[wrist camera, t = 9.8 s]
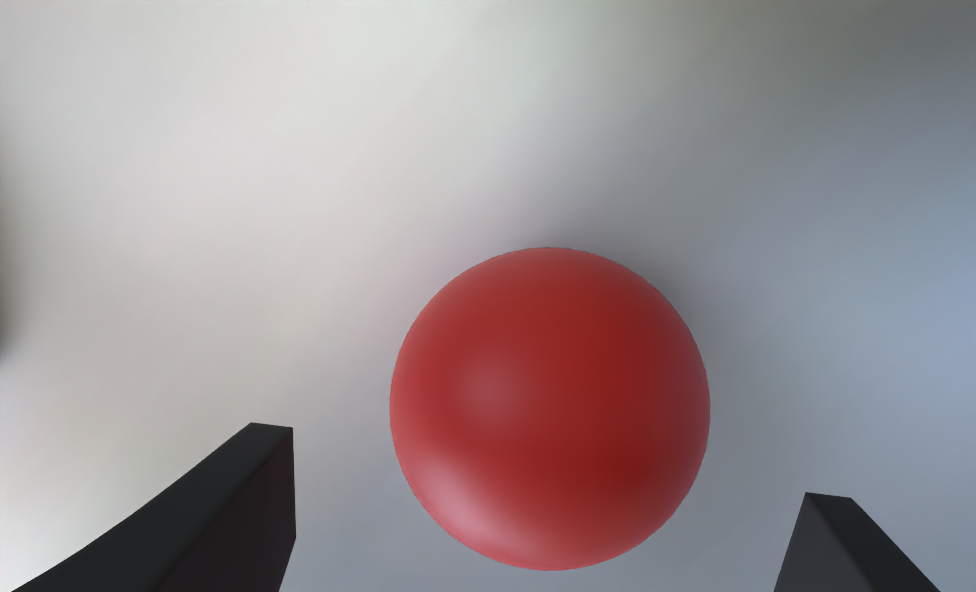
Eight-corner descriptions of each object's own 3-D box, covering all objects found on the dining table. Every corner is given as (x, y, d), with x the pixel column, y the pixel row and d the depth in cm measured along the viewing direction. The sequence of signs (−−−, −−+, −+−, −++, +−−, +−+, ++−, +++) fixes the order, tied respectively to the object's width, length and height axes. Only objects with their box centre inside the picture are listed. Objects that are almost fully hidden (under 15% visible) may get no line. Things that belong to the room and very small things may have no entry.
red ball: (415, 417, 18) (353, 619, 13) (427, 183, 16) (357, 322, 11) (663, 449, 18) (694, 667, 13) (713, 215, 16) (776, 374, 11)
